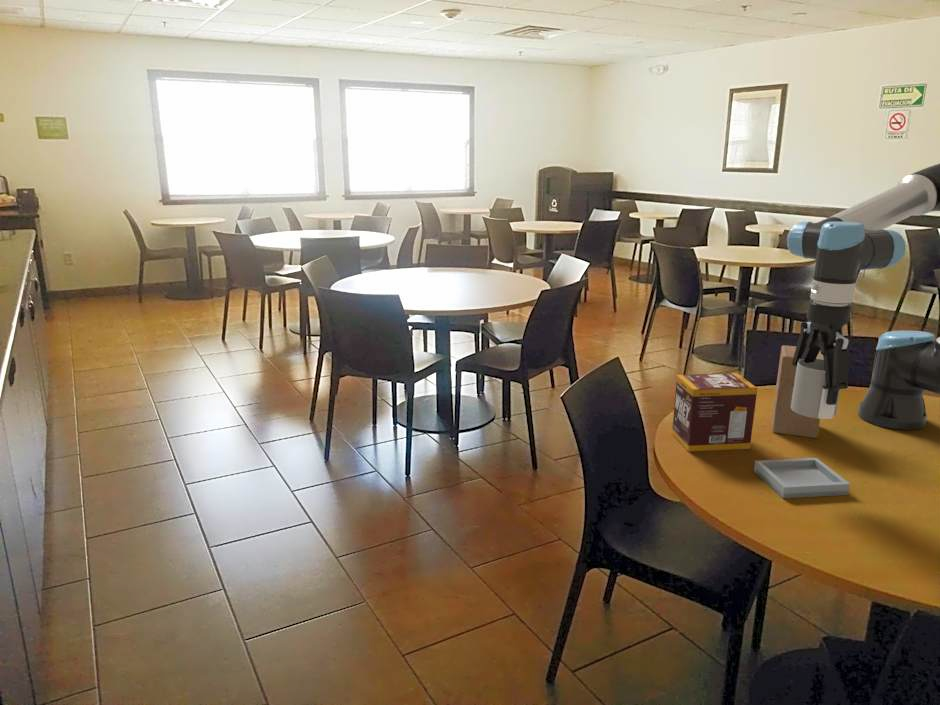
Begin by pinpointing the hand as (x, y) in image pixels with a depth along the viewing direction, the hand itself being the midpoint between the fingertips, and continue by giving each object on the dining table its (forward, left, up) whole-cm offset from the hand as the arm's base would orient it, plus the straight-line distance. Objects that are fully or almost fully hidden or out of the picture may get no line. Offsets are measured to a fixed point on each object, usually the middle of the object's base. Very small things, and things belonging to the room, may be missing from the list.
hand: (812, 409), depth 142 cm
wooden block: (-13, -26, -16) cm, 34 cm away
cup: (0, 0, -1) cm, 1 cm away
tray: (+1, +1, -16) cm, 16 cm away
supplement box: (+11, -21, -17) cm, 29 cm away
